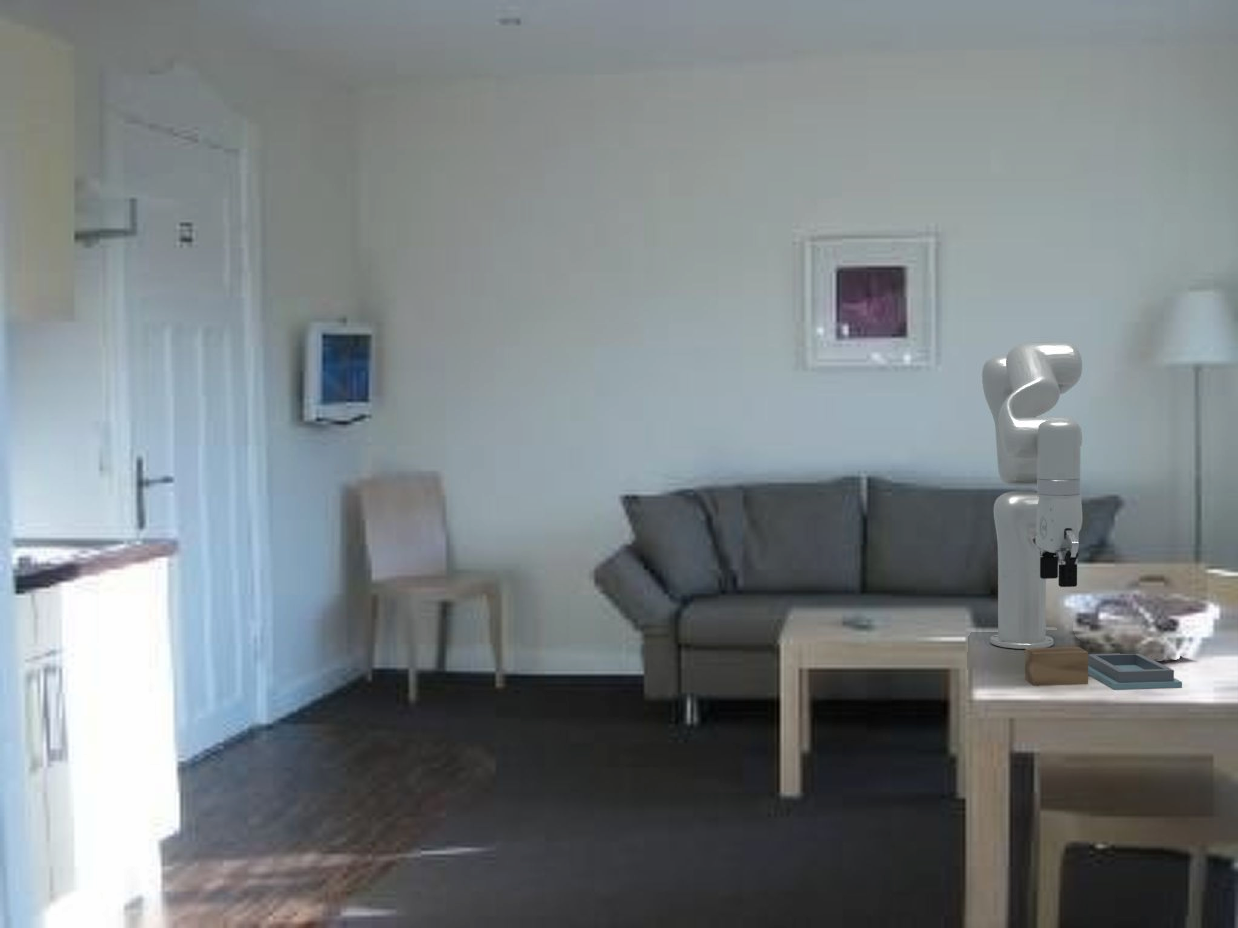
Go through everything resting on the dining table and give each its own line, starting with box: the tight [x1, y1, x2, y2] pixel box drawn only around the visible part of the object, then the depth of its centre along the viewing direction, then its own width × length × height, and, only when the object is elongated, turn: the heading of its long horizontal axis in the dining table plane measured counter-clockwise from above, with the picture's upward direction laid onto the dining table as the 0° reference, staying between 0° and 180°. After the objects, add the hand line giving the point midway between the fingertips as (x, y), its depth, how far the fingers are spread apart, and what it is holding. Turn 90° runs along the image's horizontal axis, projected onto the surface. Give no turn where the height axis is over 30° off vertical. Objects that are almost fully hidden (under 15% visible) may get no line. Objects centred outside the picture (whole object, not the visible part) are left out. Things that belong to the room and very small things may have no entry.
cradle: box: [1088, 653, 1183, 690], centre depth 275 cm, size 17×12×3 cm
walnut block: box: [1024, 646, 1089, 687], centre depth 274 cm, size 5×10×6 cm, turn 92°
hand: (1058, 582), depth 272 cm, fingers open, 9 cm apart
